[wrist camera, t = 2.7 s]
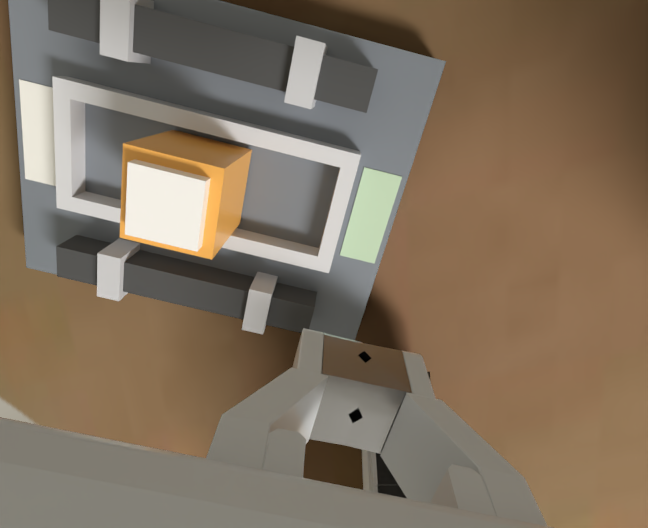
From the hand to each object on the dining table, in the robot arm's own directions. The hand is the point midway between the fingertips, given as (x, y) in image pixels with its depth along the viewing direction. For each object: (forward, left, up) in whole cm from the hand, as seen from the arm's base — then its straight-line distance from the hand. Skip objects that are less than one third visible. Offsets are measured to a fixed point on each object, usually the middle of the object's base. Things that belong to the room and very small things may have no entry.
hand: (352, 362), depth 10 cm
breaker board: (+8, 0, -15) cm, 17 cm away
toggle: (+8, 0, -13) cm, 15 cm away
